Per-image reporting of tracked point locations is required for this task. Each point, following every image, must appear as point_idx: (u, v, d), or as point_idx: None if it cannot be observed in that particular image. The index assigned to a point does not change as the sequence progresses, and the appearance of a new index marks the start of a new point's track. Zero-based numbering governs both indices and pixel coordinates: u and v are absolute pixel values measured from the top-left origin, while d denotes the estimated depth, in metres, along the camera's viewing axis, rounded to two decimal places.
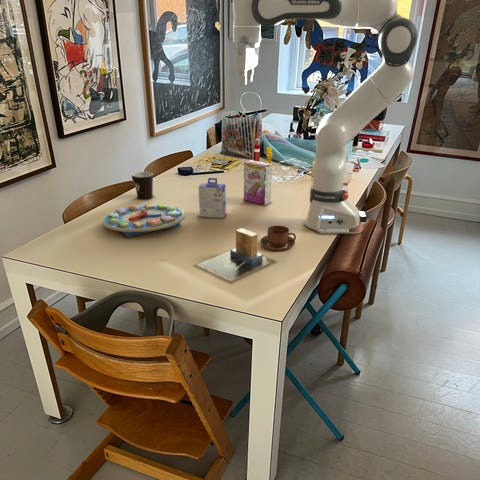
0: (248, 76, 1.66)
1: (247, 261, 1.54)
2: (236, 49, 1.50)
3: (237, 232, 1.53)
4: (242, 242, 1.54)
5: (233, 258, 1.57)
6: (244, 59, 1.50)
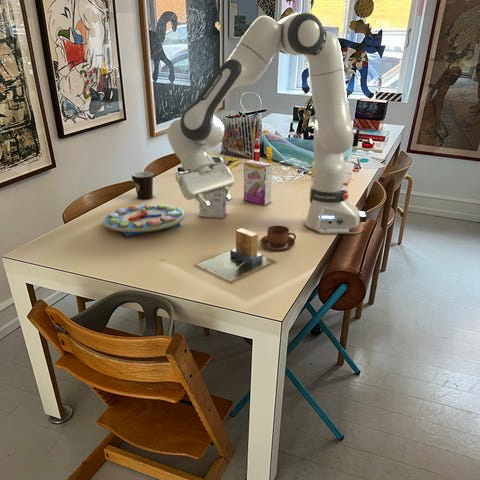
0: (225, 196, 1.59)
1: (247, 261, 1.54)
2: (179, 183, 1.52)
3: (237, 232, 1.53)
4: (242, 242, 1.54)
5: (233, 258, 1.57)
6: (185, 186, 1.50)
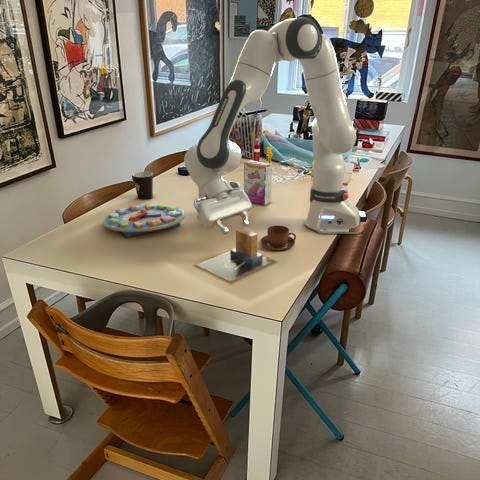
0: (243, 221, 1.58)
1: (247, 261, 1.54)
2: (197, 210, 1.51)
3: (237, 232, 1.53)
4: (242, 242, 1.54)
5: (233, 258, 1.57)
6: (203, 213, 1.48)
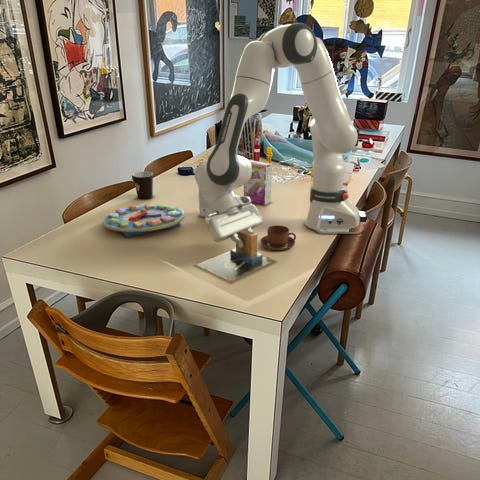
0: None
1: (247, 261, 1.54)
2: None
3: None
4: None
5: (233, 258, 1.57)
6: (215, 229, 1.47)
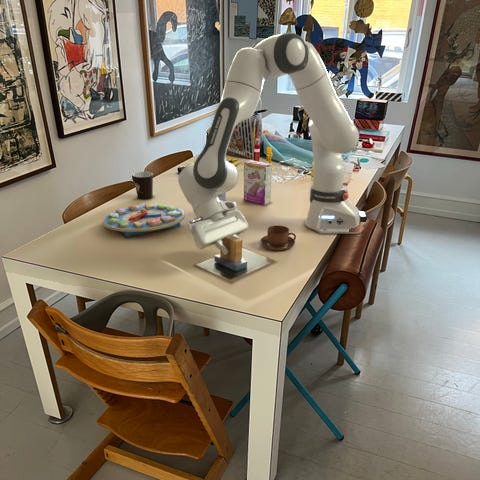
0: None
1: (231, 267, 1.49)
2: (191, 232, 1.46)
3: None
4: None
5: None
6: (198, 235, 1.43)
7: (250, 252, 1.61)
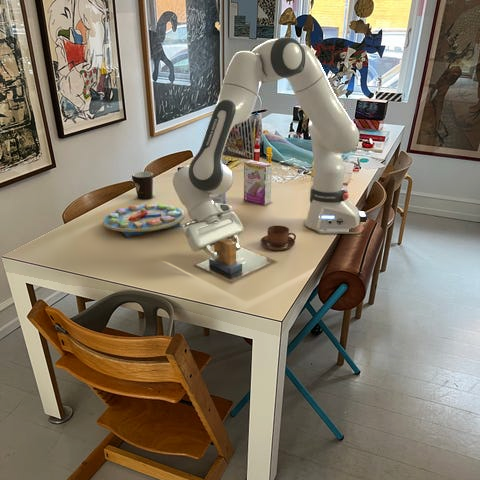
0: None
1: (226, 270, 1.48)
2: None
3: None
4: (220, 250, 1.48)
5: None
6: (192, 238, 1.42)
7: (250, 252, 1.61)
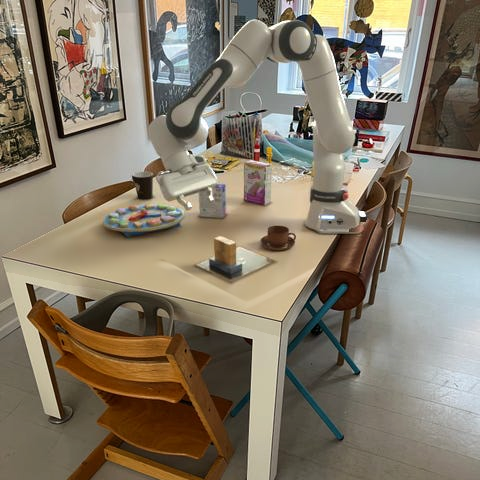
0: (208, 197, 1.54)
1: (226, 270, 1.48)
2: None
3: (215, 240, 1.48)
4: (220, 250, 1.48)
5: None
6: (166, 187, 1.44)
7: (250, 252, 1.61)
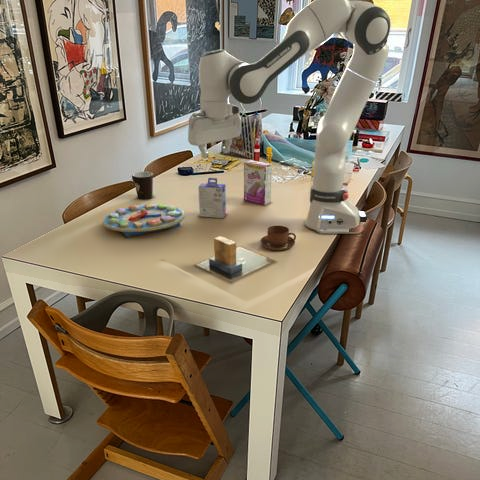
0: (225, 147, 1.58)
1: (226, 270, 1.48)
2: None
3: (215, 240, 1.48)
4: (220, 250, 1.48)
5: None
6: (194, 134, 1.45)
7: (250, 252, 1.61)
